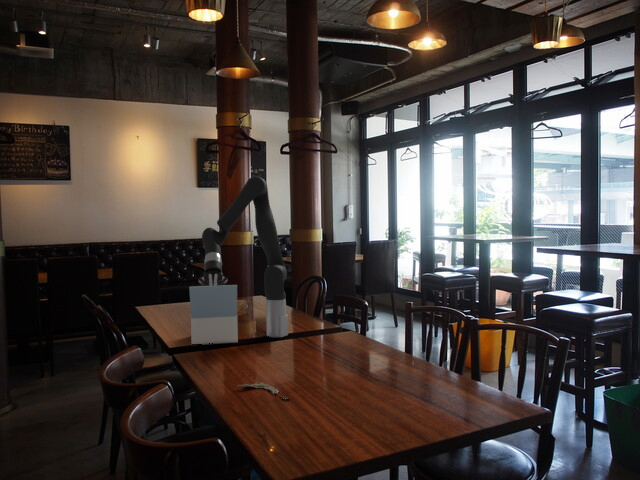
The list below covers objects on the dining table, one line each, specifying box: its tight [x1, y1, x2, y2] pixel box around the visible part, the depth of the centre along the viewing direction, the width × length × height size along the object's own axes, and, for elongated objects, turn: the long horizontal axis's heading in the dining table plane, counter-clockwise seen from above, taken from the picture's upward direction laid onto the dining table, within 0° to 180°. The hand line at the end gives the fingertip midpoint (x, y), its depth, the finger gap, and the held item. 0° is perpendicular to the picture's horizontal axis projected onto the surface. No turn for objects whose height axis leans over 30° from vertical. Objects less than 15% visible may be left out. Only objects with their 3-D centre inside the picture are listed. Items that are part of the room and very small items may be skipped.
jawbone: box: [236, 382, 289, 400], centre depth 161 cm, size 9×20×2 cm, turn 58°
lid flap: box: [188, 284, 238, 319], centre depth 215 cm, size 18×20×1 cm
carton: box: [190, 316, 239, 345], centre depth 230 cm, size 18×20×12 cm
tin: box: [237, 299, 250, 317], centre depth 286 cm, size 15×3×8 cm, turn 143°
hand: (213, 296), depth 214 cm, fingers closed
